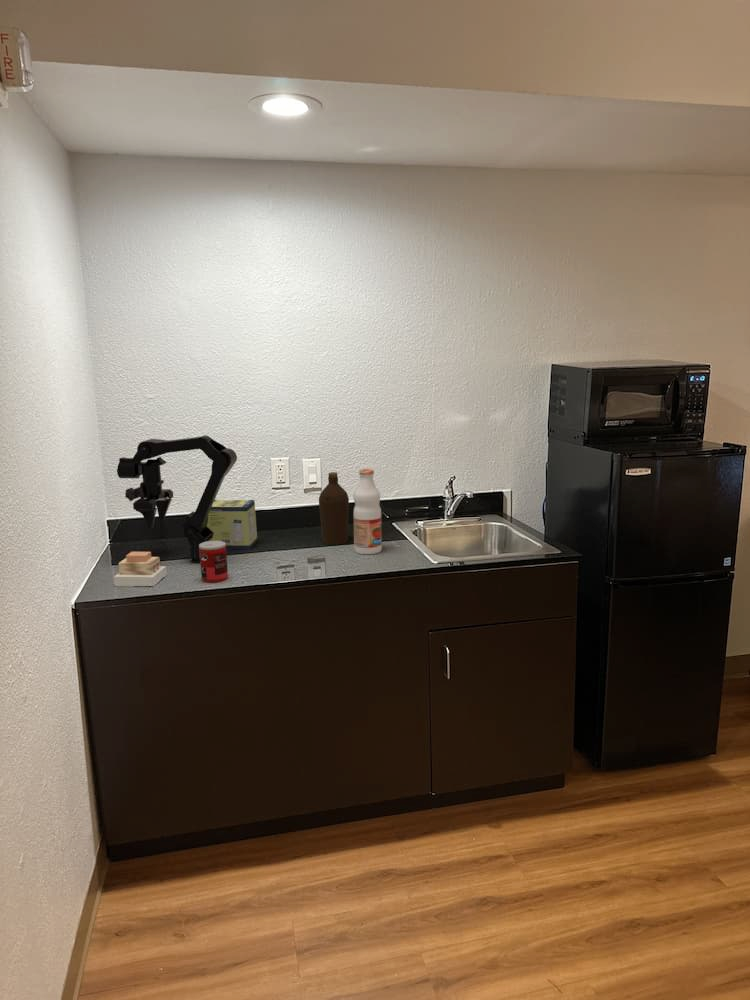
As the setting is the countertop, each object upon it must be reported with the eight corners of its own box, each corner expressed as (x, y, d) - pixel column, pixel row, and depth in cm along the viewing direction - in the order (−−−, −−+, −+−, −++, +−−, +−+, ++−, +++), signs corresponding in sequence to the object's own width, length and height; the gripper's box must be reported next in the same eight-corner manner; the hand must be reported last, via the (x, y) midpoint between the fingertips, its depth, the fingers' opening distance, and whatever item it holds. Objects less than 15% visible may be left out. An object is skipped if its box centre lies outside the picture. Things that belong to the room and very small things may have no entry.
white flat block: (166, 575, 211) (165, 566, 211) (153, 586, 202) (152, 577, 201) (129, 575, 213) (128, 565, 212) (114, 586, 203) (113, 576, 202)
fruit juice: (355, 546, 238) (353, 467, 232) (382, 546, 237) (381, 467, 231) (353, 554, 229) (350, 473, 222) (381, 555, 228) (379, 472, 222)
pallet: (160, 568, 209) (159, 556, 208) (151, 575, 203) (150, 563, 202) (129, 567, 210) (127, 556, 209) (119, 574, 204) (118, 563, 203)
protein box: (216, 541, 248) (212, 499, 245) (257, 541, 247) (255, 499, 243) (206, 549, 238) (203, 506, 235) (250, 549, 237) (247, 506, 233)
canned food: (203, 575, 211) (200, 541, 209) (229, 573, 212) (227, 539, 210) (199, 583, 204) (196, 548, 201) (226, 582, 205) (224, 547, 202)
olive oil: (351, 544, 240) (349, 475, 235) (321, 546, 239) (319, 476, 233) (348, 536, 251) (346, 469, 245) (319, 538, 249) (316, 471, 243)
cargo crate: (151, 558, 207) (150, 551, 207) (146, 562, 204) (145, 555, 203) (132, 557, 208) (131, 551, 208) (126, 561, 204) (126, 555, 204)
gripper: (140, 473, 231) (144, 517, 235) (114, 484, 213) (119, 532, 217) (172, 473, 230) (175, 517, 234) (149, 484, 212) (153, 532, 216)
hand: (156, 524), depth 225 cm, fingers open, 9 cm apart
